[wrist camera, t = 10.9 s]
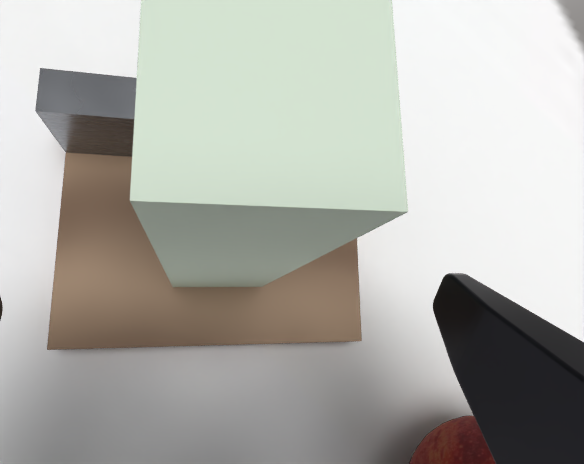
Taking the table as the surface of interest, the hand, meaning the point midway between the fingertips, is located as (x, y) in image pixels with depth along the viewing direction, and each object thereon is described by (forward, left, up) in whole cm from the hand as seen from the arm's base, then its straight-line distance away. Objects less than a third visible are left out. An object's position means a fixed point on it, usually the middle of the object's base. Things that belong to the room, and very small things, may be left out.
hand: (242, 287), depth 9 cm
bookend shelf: (+3, +1, -10) cm, 11 cm away
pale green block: (+3, +1, -9) cm, 9 cm away
